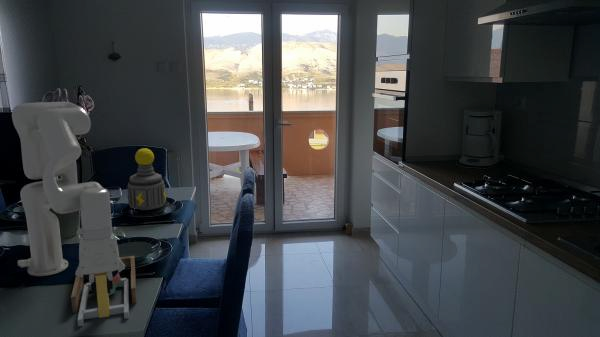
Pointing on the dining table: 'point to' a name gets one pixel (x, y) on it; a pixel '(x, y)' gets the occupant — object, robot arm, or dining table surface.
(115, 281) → the cupcake
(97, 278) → the frame
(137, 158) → the decorative lamp
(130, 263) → the bay
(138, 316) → the dining table surface
